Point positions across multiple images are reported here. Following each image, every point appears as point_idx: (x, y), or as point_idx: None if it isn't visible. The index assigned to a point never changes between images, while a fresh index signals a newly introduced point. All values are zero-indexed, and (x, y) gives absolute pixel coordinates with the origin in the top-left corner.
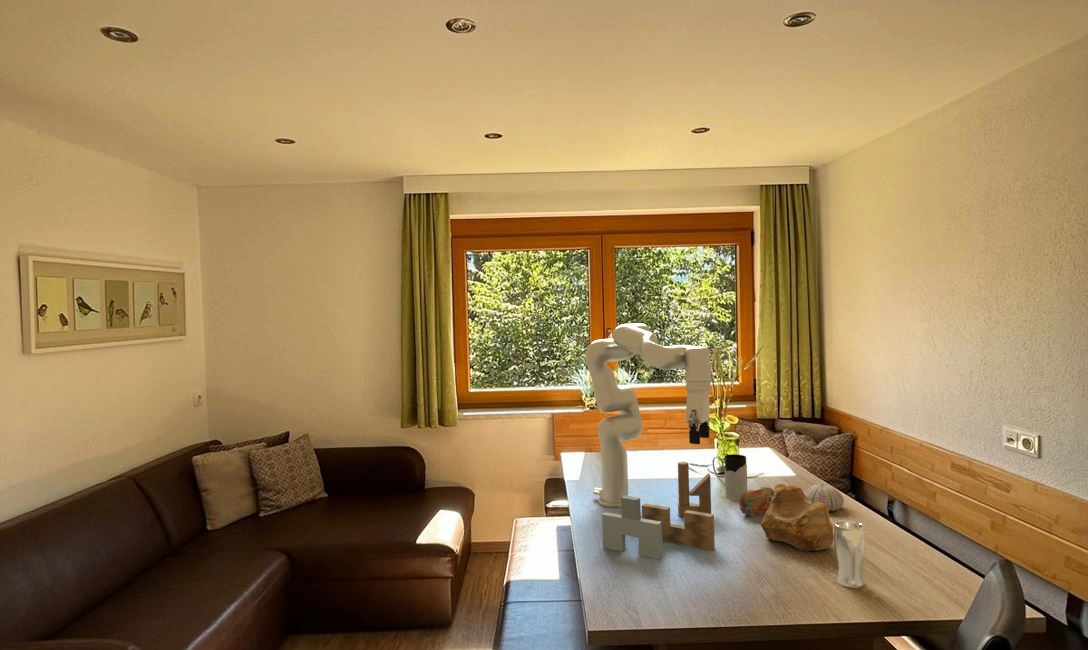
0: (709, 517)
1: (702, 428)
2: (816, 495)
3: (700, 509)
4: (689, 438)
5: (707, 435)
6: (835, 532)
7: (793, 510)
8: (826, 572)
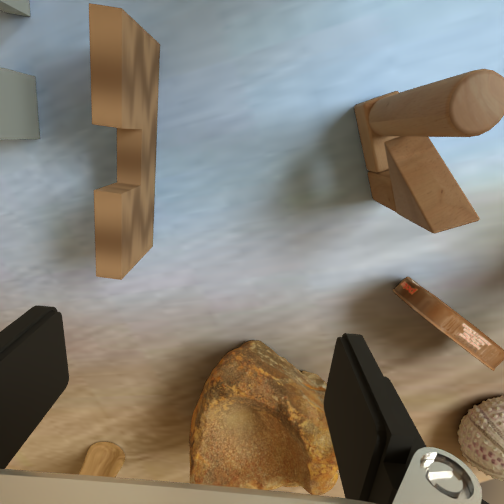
0: (97, 269)
1: (354, 436)
2: (490, 445)
3: (375, 172)
4: (6, 329)
5: (327, 415)
6: None
7: (270, 435)
8: (131, 429)
